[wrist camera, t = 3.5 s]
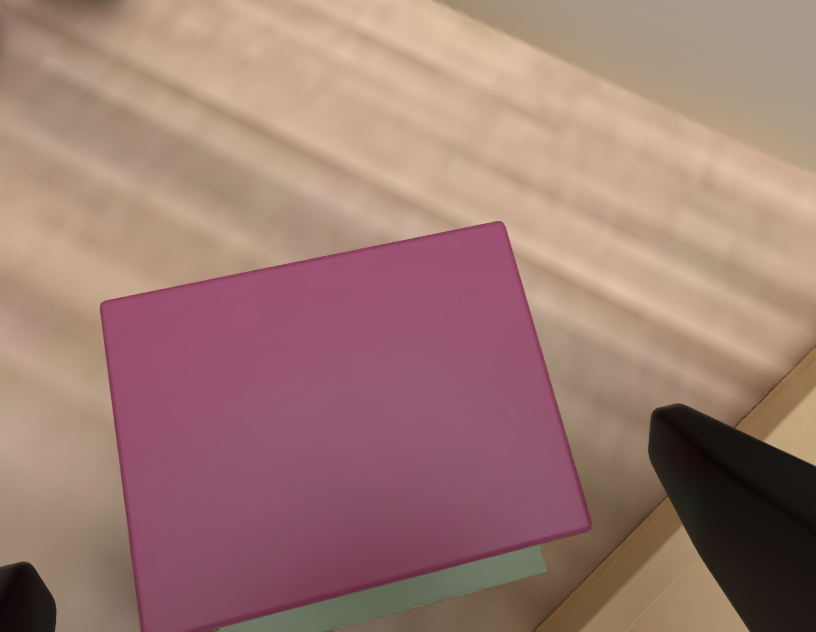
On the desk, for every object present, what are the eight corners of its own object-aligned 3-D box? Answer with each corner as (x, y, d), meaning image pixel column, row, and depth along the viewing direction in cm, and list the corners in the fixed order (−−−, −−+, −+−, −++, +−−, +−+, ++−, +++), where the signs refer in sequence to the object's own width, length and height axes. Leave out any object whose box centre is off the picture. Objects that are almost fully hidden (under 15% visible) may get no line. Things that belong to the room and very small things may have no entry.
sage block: (511, 555, 18) (549, 572, 14) (255, 622, 17) (221, 659, 13) (448, 313, 20) (466, 270, 16) (211, 364, 19) (171, 332, 15)
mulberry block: (490, 512, 14) (596, 530, 8) (252, 572, 14) (140, 649, 7) (445, 337, 15) (504, 217, 9) (221, 387, 15) (96, 300, 8)
